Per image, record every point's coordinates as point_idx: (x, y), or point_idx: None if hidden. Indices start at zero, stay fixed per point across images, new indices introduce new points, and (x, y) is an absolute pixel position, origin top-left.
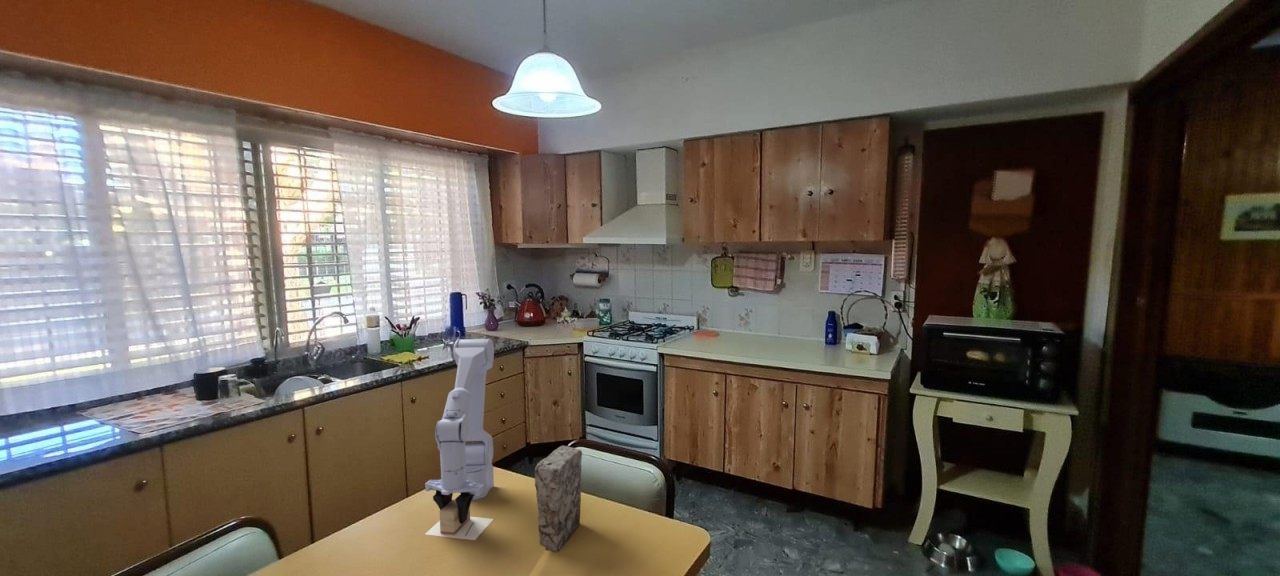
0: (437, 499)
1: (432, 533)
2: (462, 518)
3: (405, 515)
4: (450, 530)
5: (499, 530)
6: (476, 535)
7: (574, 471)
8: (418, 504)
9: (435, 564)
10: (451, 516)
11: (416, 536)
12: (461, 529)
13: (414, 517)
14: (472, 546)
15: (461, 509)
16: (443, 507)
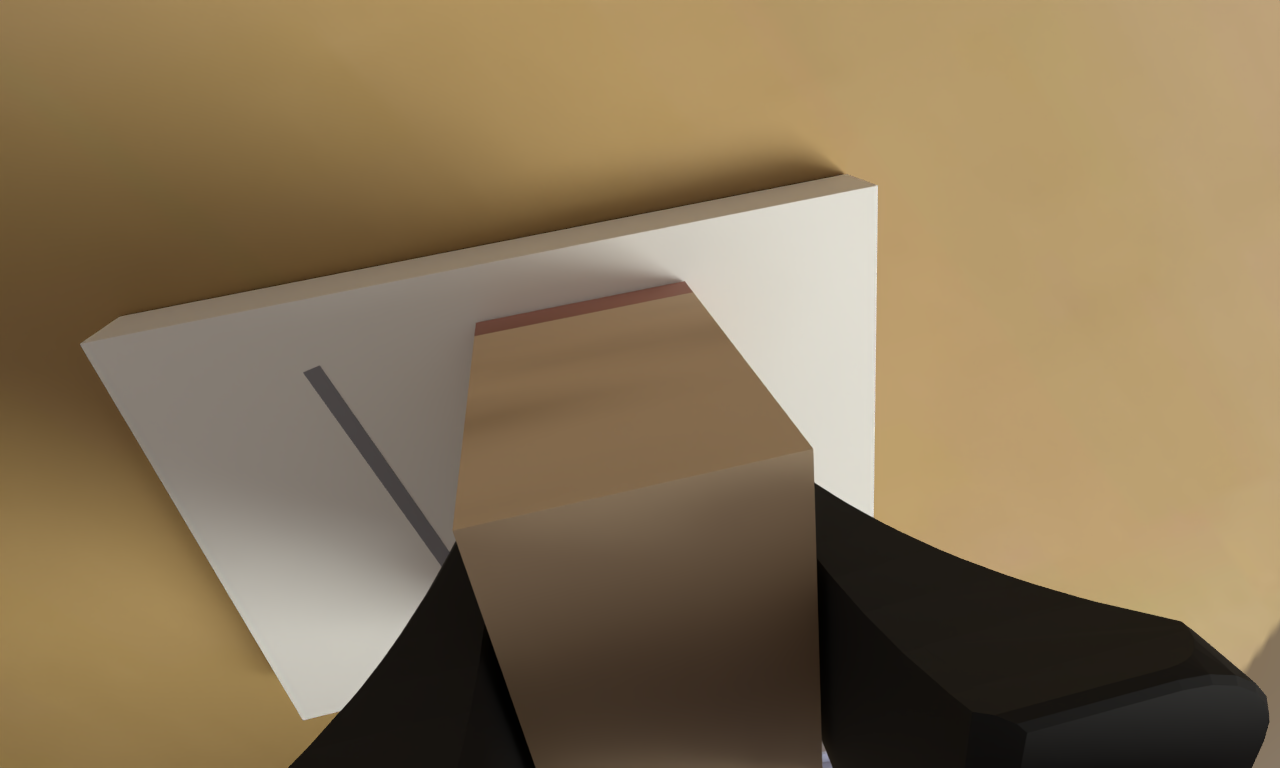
0: (1063, 670)
1: (787, 239)
2: (455, 552)
3: (1270, 425)
4: (532, 334)
5: (139, 626)
6: (172, 431)
7: None
8: (1223, 580)
9: None
10: (507, 461)
11: (978, 184)
12: None
13: (1171, 436)
14: (124, 281)
15: (398, 673)
16: (826, 572)
